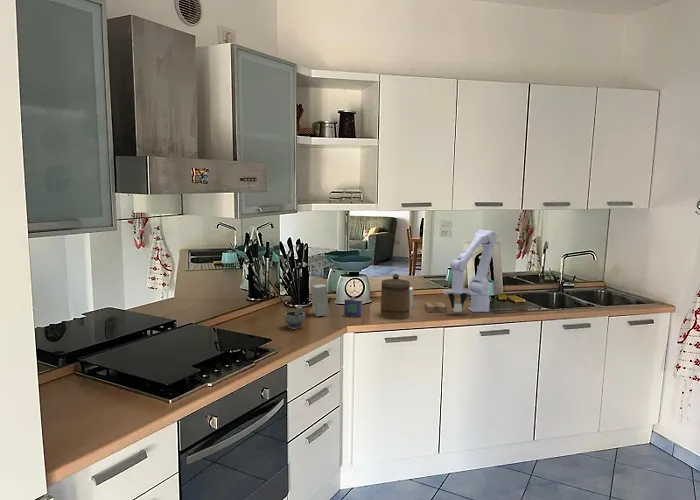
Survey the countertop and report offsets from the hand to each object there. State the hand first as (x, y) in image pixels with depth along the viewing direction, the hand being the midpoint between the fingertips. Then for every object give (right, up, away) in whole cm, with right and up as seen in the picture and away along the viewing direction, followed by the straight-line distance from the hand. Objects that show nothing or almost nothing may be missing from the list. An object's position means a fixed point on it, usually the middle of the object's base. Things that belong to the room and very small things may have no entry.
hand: (457, 307), depth 284 cm
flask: (-55, -4, -5) cm, 55 cm away
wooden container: (-33, -4, -3) cm, 33 cm away
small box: (-25, -1, +18) cm, 31 cm away
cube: (0, -2, 0) cm, 2 cm away
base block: (-10, -2, +10) cm, 14 cm away
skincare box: (-72, -4, -4) cm, 72 cm away
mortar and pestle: (-82, -7, -28) cm, 87 cm away
